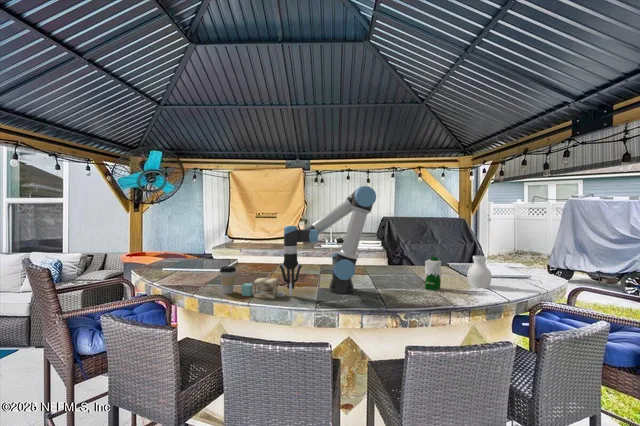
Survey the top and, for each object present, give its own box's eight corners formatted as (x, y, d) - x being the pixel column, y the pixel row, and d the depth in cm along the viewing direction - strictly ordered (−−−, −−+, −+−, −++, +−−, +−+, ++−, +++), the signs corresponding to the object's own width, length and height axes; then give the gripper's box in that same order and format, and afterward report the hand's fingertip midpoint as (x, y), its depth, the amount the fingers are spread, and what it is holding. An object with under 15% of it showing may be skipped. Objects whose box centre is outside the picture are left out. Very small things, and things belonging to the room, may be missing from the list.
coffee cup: (231, 295, 167) (231, 269, 167) (216, 294, 169) (216, 268, 169) (238, 291, 177) (239, 266, 177) (224, 290, 178) (224, 265, 178)
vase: (488, 284, 199) (489, 255, 199) (494, 290, 185) (494, 258, 185) (465, 283, 203) (465, 254, 203) (469, 288, 190) (469, 257, 189)
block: (253, 293, 172) (253, 283, 172) (250, 296, 167) (250, 285, 167) (244, 293, 172) (244, 283, 172) (241, 295, 167) (241, 285, 167)
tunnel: (278, 293, 172) (278, 278, 172) (274, 298, 163) (274, 282, 163) (258, 293, 173) (258, 277, 173) (253, 297, 164) (253, 281, 164)
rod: (284, 295, 169) (284, 291, 169) (283, 297, 166) (283, 292, 166) (252, 294, 171) (252, 290, 171) (251, 295, 168) (251, 291, 168)
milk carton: (442, 288, 187) (442, 257, 187) (437, 291, 180) (437, 259, 180) (428, 286, 193) (428, 256, 193) (423, 288, 186) (423, 257, 186)
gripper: (302, 252, 170) (303, 292, 170) (280, 252, 171) (281, 292, 171) (301, 254, 163) (301, 296, 163) (277, 253, 164) (278, 295, 164)
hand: (290, 294), depth 167 cm, fingers closed
